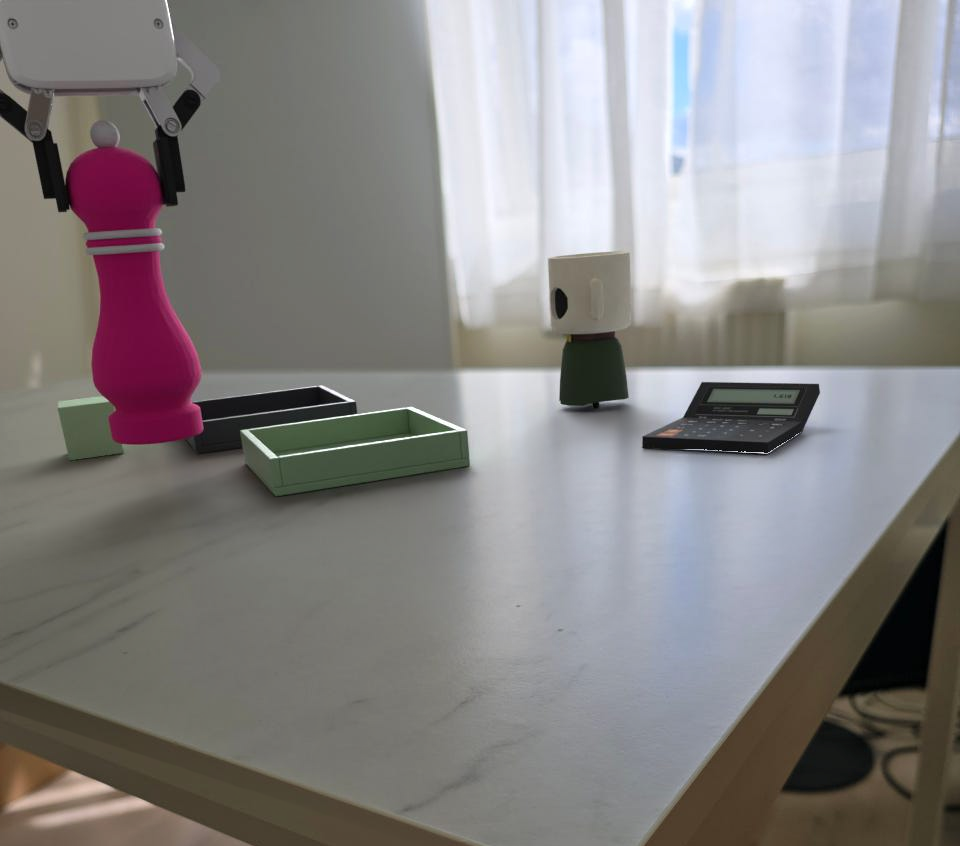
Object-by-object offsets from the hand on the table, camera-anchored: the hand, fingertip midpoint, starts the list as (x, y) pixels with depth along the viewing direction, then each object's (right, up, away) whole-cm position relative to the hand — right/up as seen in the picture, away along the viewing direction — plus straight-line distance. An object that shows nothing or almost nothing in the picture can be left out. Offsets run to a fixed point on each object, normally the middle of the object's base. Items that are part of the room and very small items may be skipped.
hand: (117, 205), depth 66 cm
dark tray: (+4, -9, +27) cm, 29 cm away
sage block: (-10, -12, +24) cm, 28 cm away
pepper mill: (+1, -14, +6) cm, 15 cm away
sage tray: (+14, -15, +11) cm, 23 cm away
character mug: (+34, -7, +27) cm, 44 cm away
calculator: (+43, -13, +11) cm, 46 cm away
